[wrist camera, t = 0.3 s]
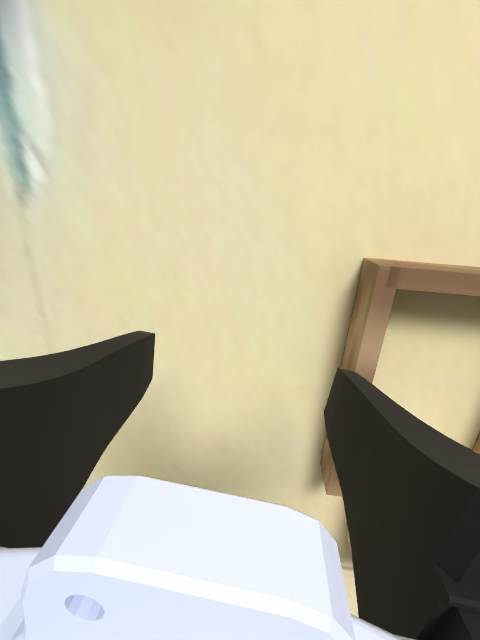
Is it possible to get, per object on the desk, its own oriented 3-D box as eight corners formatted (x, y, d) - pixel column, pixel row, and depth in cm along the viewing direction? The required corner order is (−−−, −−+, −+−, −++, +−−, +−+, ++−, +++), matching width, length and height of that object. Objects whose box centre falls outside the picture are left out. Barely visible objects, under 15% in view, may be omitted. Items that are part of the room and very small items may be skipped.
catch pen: (474, 483, 24) (500, 519, 21) (320, 462, 25) (326, 494, 22) (569, 275, 18) (623, 286, 16) (363, 257, 19) (379, 265, 16)
